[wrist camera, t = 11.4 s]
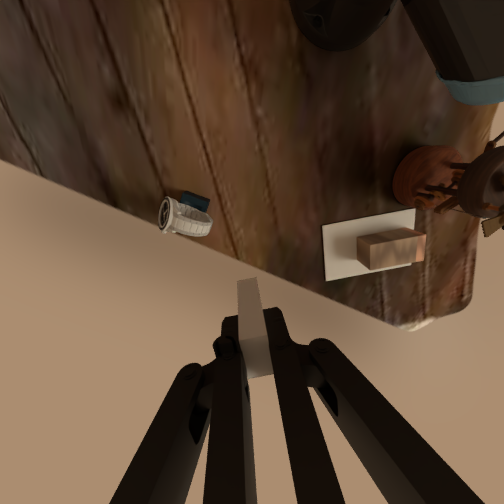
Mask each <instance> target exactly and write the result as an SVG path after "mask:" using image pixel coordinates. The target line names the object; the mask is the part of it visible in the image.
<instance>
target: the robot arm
mask: <svg viewBox="0 0 504 504" xmlns="http://www.w3.org/2000/svg"><path fill="white" fill-rule="evenodd" d="M396 1H397V0H290V5H291V9H292V13H293V15H294V18H295V20H296V23H297V24H298V26H299V28H300V30H301V31H302V32H303V34H304V35H305V36H306V37H307V38H308V39H309V40H310V41H311V42H312V43H314V44H315V45H317V46H318V47H320V48H323V49H326V50H330V51H344V50H348V49H351V48H353V47H356V46H358V45H359V44H361V43H362V42H364V41H365V40H366V39H367V38H369V37H370V36H371V35H372V34H373V33H374V32H375V31H376V30H377V29H378V28H379V27H380V26H381V25H382V24H383V22H384V21H385V20H386V18H387V17H388V16H389V14H390V12H391V11H392V9H393V7H394V5H395V3H396ZM401 2H402V4H403V6H404V9H405V11H406V12H407V14H408V16H409V18H410V20H411V22H412V24H413V26H414V28H415V30H416V31H417V33H418V35H419V37H420V39H421V41H422V43H423V45H424V47H425V49H426V50H427V52H428V54H429V56H430V58H431V60H432V62H433V64H434V66H435V68H436V75H437V77H438V78H439V80H441V81H442V82H443V83H445V85H446V87H447V88H448V90H449V92H450V93H451V95H452V96H453V98H454V99H456V100H457V101H459V102H462V103H464V104H467V105H488V104H494V103H499V102H503V101H504V0H401ZM237 288H238V315H235V316H229V317H225V319H224V320H223V322H222V328H221V329H222V330H221V336H220V337H218V338H217V339H216V340H215V341H214V343H213V349H214V352H215V355H216V359H215V360H213V361H212V362H210V363H209V364H207V365H204V366H201V365H200V364H198V363H190V364H188V365H186V366H184V367H183V368H182V369H181V370H180V371H179V373H178V374H177V376H176V378H175V380H174V381H173V384H172V385H171V387H170V389H169V391H168V393H167V395H166V397H165V399H164V401H163V402H162V404H161V406H160V408H159V410H158V412H157V414H156V416H155V418H154V419H153V421H152V423H151V425H150V427H149V429H148V431H147V433H146V435H145V437H144V438H143V441H142V442H141V444H140V446H139V448H138V450H137V452H136V454H135V456H134V457H133V459H132V461H131V463H130V465H129V467H128V469H127V471H126V473H125V475H124V476H123V478H122V480H121V482H120V484H119V486H118V488H117V490H116V492H115V494H114V496H113V497H112V499H111V501H110V503H109V504H185V501H186V497H187V495H188V491H189V488H190V485H191V482H192V478H193V475H194V472H195V469H196V466H197V462H198V459H199V456H200V453H201V449H202V446H203V443H204V440H205V437H206V433H207V430H208V427H209V424H210V431H209V442H208V453H207V464H206V474H205V485H204V496H203V504H257V494H256V479H255V464H254V449H253V435H252V421H251V406H250V392H249V385H248V381H247V376H248V379H250V378H255V377H261V376H265V375H271V374H274V378H275V384H276V389H277V395H278V399H279V405H280V411H281V416H282V422H283V427H284V433H285V438H286V444H287V449H288V454H289V460H290V465H291V471H292V476H293V481H294V487H295V493H296V498H297V503H298V504H345V501H344V498H343V495H342V491H341V489H340V485H339V482H338V479H337V476H336V473H335V470H334V467H333V464H332V461H331V458H330V455H329V452H328V449H327V445H326V442H325V440H324V436H323V433H322V430H321V427H320V424H319V421H318V418H317V415H316V412H315V408H314V406H313V402H312V400H311V396H310V393H309V390H308V387H313V388H314V390H315V391H316V393H317V394H318V396H319V398H320V399H321V401H322V402H323V404H324V405H325V407H326V408H327V410H328V411H329V413H330V414H331V416H332V418H333V419H334V421H335V422H336V424H337V425H338V427H339V428H340V430H341V431H342V433H343V434H344V436H345V437H346V439H347V441H348V442H349V444H350V445H351V447H352V448H353V450H354V451H355V453H356V454H357V456H358V458H359V459H360V461H361V462H362V464H363V465H364V467H365V468H366V470H367V471H368V473H369V474H370V476H371V478H372V479H373V481H374V482H375V484H376V485H377V487H378V488H379V490H380V491H381V493H382V494H383V496H384V497H385V499H386V500H387V502H388V504H485V503H483V501H482V500H481V499H480V498H479V497H478V496H477V495H476V494H475V493H474V492H473V491H472V490H471V489H470V487H468V485H467V484H466V483H465V482H464V481H463V480H462V479H461V478H460V477H459V476H458V475H457V474H456V473H455V472H454V471H453V469H452V468H451V467H450V466H449V465H447V463H446V462H445V461H444V460H443V459H442V458H441V457H440V456H439V455H438V454H437V453H436V452H435V450H434V449H433V448H432V447H431V446H430V445H429V444H428V443H427V442H426V441H425V440H424V439H423V438H422V437H421V436H420V434H418V433H417V431H416V430H415V429H414V428H413V427H412V426H411V425H410V424H409V423H408V422H407V421H406V420H405V419H404V418H403V417H402V416H401V414H400V413H399V412H398V411H397V410H396V409H395V408H394V407H393V406H392V405H391V404H390V403H389V402H388V401H387V400H386V398H385V397H384V396H383V395H382V394H381V393H380V392H379V391H378V390H377V389H376V388H375V387H374V386H373V385H372V384H371V383H370V382H369V380H367V378H366V377H365V376H364V375H363V374H362V373H361V372H360V371H359V370H358V369H357V368H356V367H355V366H354V365H353V364H352V362H351V361H350V360H349V359H348V358H347V357H346V356H345V355H344V354H343V353H342V352H341V351H340V350H339V349H338V348H337V347H336V345H335V344H334V343H333V342H331V341H330V340H327V339H324V338H319V339H314V340H313V341H311V342H310V344H309V345H301V344H297V343H295V342H294V341H292V339H291V338H290V336H289V333H288V330H287V326H286V323H285V320H284V317H283V314H282V311H281V310H280V309H279V308H278V307H274V308H268V309H263V310H262V305H261V300H260V294H259V289H258V284H257V279H256V277H255V278H250V279H245V280H239V281H237Z"/></svg>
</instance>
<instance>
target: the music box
mask: <svg viewBox="0 0 504 504" xmlns="http://www.w3.org/2000/svg"><path fill="white" fill-rule="evenodd" d="M503 136H504V131H503V132H502V133H501V134H500V135H499V136H498V137H497V138H495V139H494V140H493V141H489V142H488V143H487V145H486V147H485V150H484V153H483V154H481V155H480V156H479V157H477V158H476V159H475V160H474V161H473V162H472V163H463V161H462V157H461V155H460V153H459V152H458V151H457V150H456V149H455V148H453V147H451V146H446V145H440V146H423V147H419V148H417V149H415V150H413V151H412V152H410V153H409V154H408V155H407V156H406V157H405V158H404V159H403V160H402V161H401V163H400V164H399V166H398V167H397V169H396V172H395V174H394V178H393V192H394V195H395V197H396V199H397V200H398V201H399V202H400V203H401V204H403V205H406V206H409V207H413V208H416V209H419V210H428V209H432V208H435V209H434V212H435V213H439V214H444V213H446V212H448V211H449V210H454V209H452V208H454V207H455V206H457V205H458V204H459V205H460V207H461V208H462V209H463V210H464V211H465V212H463V211H459V210H455V211H459V212H463V213H467V214H470V215H472V216H474V217H478V218H483V219H486V218H490V219H487V220H484V221H482V222H481V224H482V228H483V231H484V232H483V233H484V237H489V236H490V235H491V234H493V233H494V232H495V231H497V230H498V229H499V228H501V227H502V229H503V230H504V146H499V147H496V148H495V146H496V142H497V141H499V140H500V139H501V138H502V137H503ZM464 170H465V171H464ZM451 195H452V197H450V196H451ZM456 196H457V197H456ZM449 197H450V198H449ZM448 198H449V199H448Z"/></svg>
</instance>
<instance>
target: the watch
mask: <svg viewBox="0 0 504 504" xmlns="http://www.w3.org/2000/svg"><path fill="white" fill-rule="evenodd" d="M209 202H210V199H207V198H205V197H202V196H199V195H197V194H194V193H191V192H189V191H185V192H183V194H182V197H181V200H180V203H178V202H177V201H176V200H175V199H172V198H170V197H165V198H164V199H163V201H162V203H161V206H160V209H159V215H158V225H159V229H160V230H161V232H162V233H167V231H168V232H173V233H175V232H180V233H182V234H186V235H191V236H206V235H208V233H209V232H210V229H211V226H212V223H213V220H212V218H211V217H210V216H209V215H208V214H207V213H206V211H207V208H208V205H209ZM182 229H183V230H182Z"/></svg>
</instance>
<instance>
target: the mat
mask: <svg viewBox="0 0 504 504" xmlns="http://www.w3.org/2000/svg"><path fill="white" fill-rule="evenodd" d="M414 221H415V208H412V209H407V210H402V211H396V212H391V213H386V214H380V215H375V216H370V217H365V218H359V219H354V220H349V221H343V222H338V223H333V224H328V225H322V232H323V246H324V261H325V276H326V281H329V280H335V279H340V278H345V277H350V276H356V275H361V274H366V273H371V272H377V271H382V270H387V269H392V268H398V267H403V266H408V265H411V263H407V264H402V265H397V266H391V267H386V268H381V269H376V270H369V269H368V268H366V267H365V266H364V265H362V264H361V263H360V262H359V261H357V239H356V237H359V236H364V235H369V234H374V233H380V232H385V231H390V230H396V229H401V228H406V227H407V228H410V229H412V230H414Z"/></svg>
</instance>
